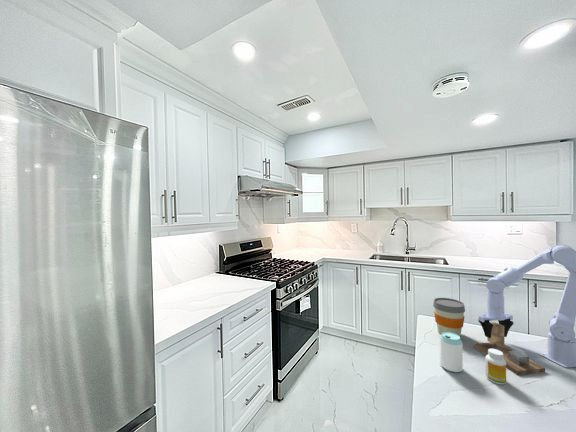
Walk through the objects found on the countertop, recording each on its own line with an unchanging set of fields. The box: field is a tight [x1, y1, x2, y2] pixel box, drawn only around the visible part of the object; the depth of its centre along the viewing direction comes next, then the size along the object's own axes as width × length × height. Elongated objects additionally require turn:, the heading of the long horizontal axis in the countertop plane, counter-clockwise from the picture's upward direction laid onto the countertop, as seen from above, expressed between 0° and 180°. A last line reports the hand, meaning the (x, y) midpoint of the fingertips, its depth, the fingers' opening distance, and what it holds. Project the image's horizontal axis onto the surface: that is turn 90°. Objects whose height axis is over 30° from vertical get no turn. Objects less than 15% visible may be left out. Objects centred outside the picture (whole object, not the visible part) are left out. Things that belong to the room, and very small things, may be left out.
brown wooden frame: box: [473, 341, 546, 376], centre depth 95 cm, size 11×18×2 cm, turn 6°
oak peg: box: [486, 321, 505, 346], centre depth 107 cm, size 4×4×8 cm
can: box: [439, 332, 464, 373], centre depth 91 cm, size 7×7×12 cm
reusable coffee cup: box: [432, 297, 466, 337], centre depth 116 cm, size 12×13×15 cm
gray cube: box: [508, 350, 530, 366], centre depth 91 cm, size 4×4×4 cm
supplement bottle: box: [485, 348, 507, 385], centre depth 84 cm, size 5×5×10 cm
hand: (495, 336), depth 107 cm, fingers open, 7 cm apart
